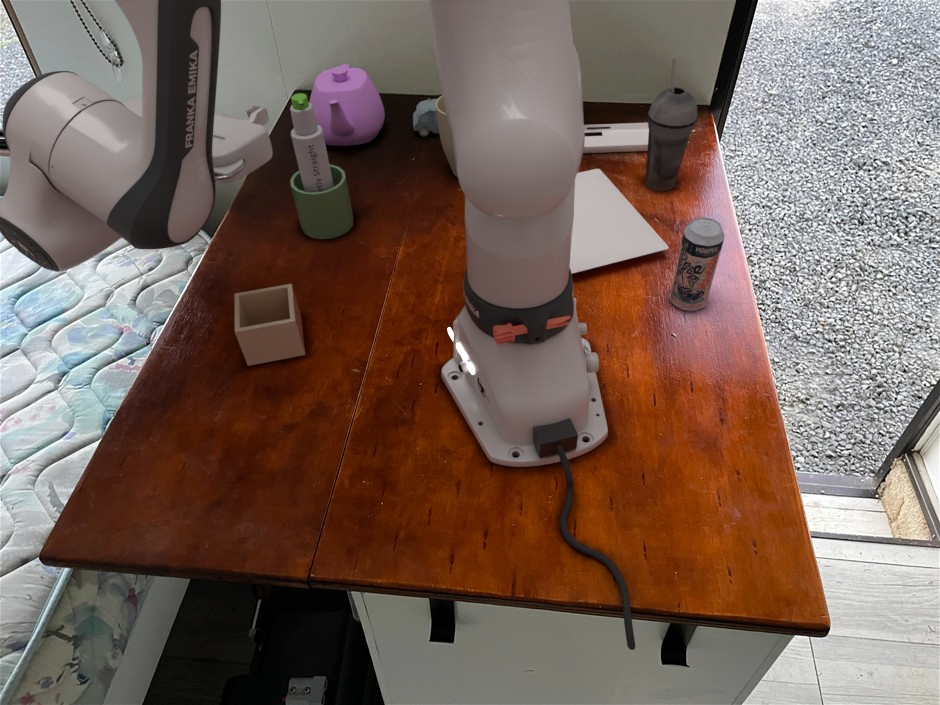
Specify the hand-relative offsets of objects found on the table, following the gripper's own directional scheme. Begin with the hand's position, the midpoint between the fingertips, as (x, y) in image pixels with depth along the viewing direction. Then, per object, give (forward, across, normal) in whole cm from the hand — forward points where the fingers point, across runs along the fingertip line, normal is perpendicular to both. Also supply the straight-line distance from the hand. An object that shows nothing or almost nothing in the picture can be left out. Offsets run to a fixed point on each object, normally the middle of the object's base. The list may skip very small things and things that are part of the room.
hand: (231, 105), depth 84 cm
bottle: (+12, 0, +25) cm, 27 cm away
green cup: (+12, 0, +25) cm, 28 cm away
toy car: (+45, -2, +25) cm, 52 cm away
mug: (+35, -13, +25) cm, 45 cm away
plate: (+25, -33, +26) cm, 49 cm away
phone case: (+53, -33, +26) cm, 68 cm away
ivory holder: (-12, -8, +25) cm, 29 cm away
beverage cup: (+43, -43, +26) cm, 66 cm away
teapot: (+36, +12, +25) cm, 45 cm away
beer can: (+17, -54, +26) cm, 62 cm away
